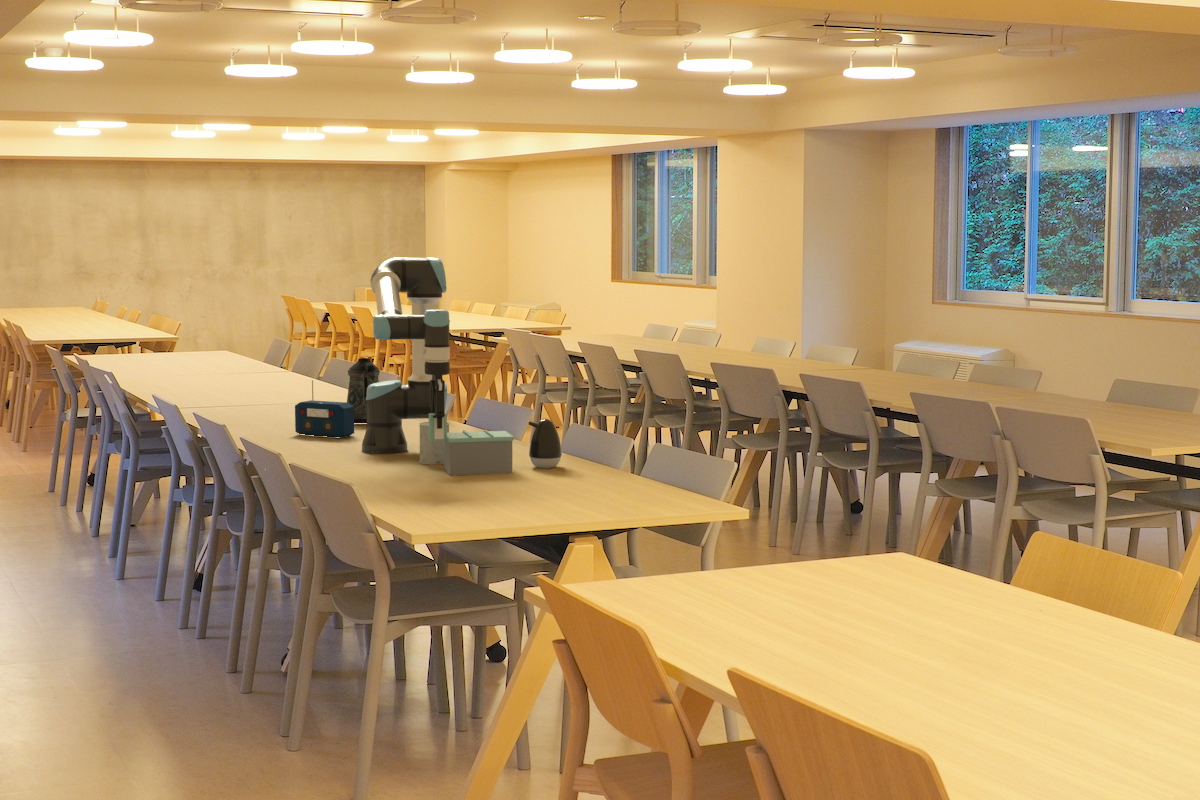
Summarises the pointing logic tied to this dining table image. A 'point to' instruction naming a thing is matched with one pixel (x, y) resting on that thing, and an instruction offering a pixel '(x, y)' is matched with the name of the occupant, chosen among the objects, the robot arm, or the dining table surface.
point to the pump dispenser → (545, 445)
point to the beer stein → (361, 387)
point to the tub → (478, 457)
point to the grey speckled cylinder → (430, 447)
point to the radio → (324, 418)
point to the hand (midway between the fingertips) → (437, 437)
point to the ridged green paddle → (467, 434)
